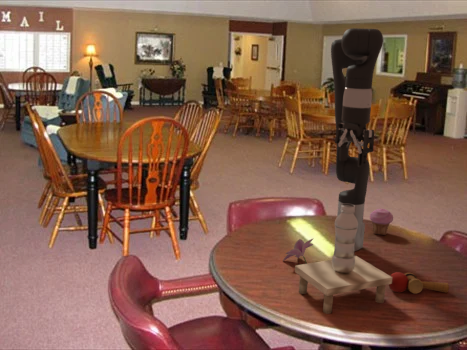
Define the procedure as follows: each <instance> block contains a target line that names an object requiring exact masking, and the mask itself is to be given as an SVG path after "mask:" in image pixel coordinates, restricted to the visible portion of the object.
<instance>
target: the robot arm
mask: <svg viewBox="0 0 467 350" xmlns="http://www.w3.org/2000/svg"><path fill="white" fill-rule="evenodd" d="M383 44H384V35H383V33H382V31H381V30H379V29H378V28H357V27H356V28H355V27H353V28H349V29H346V30H345V31H344V33H343V34H342V37H341V38H340V39H338V38H337V39H334V40H333V41H332V43H331V47H330V57H331V66H332V77H333V84H334V85H333V88H334V118H335V119H334V120H335V121H334V123H335V137H334V143H335V144H336V159H335V174H336V175H335V176H336V178H337V179H338V180H339V181H340V182H344V183H350V184H353V185H354V187H353V188H351V189H346V190H343V191H340V192H339V193H338V200H337V201H338V202H337V213H336V218H337V217H338V216H339V215H340V214H341V205H342V204H353V205H355V212H354V213H353V214H354V216H355V217H356V219H357V221H358V228H357V233H356V237H355V245H354V252H357V251H359V250H361V249H363V248H364V239H365V228H366V223H365V222H364V215H365V214H364V212H365V204H366V202H365V201H366V197H367V196H366V195H367V190H368V189H367V188H368V183H369V182H368V181H369V176H370V162H369V160H368V154H369V153H373V152H374V146H375V145H374V144H375V143H374V142H375V130H374V129H367V124H369V123H370V122H371V121H370V120H371V111H372V98H373V95H372V94H373V91H372V89H373V78H374V71H375V67H376V64H377V61H378V57H379V56H380V53H381V50H382V48H383ZM343 69H346V71H345V72H346V73H345V74H344V73H343ZM351 143H353V144H354V146H355V147H356V148H357V150H358V155H357V156H358V157H356V156H350V154H349V151H350V146H351ZM368 144H369V146H368ZM335 241H336V240H334V242H335Z"/></svg>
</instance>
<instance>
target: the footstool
mask: <svg viewBox="0 0 467 350" xmlns="http://www.w3.org/2000/svg"><path fill="white" fill-rule="evenodd" d="M354 257H355V267H354V270H353V271H352V272H350V273H340V272H337V271H335V270H334V269H333V267H332V259H327V260H322V261H317V262H316V261H315V262H309V263H307V264H306V263H303V264H296V265H295V266H294V272H295V274H297V275H298V276H299V281H298V284H299V285H298V293H299V294H301V295H306V294H308V283H309V284H310V285H312V287H314V288H315V289H317V290H318V291H319V292H320V293H322V294H323V307H322V312H323V314H327V315H329V314H332V312H333V302H334V295H339V294H345V293H350V292H355V291H361V290H367V289H372V288H376V291H375V299H374V301H375V302H376V303H378V304H384V302H385V296H386V295H385V294H386V285H388V286H389V284H392V277H391V276H390V275H389V274H387V273H386V272H384V271H383V270H381V269H379V268H377V267H375V265H373V264H371V263H370V262H367V261H366V260H364V259H362V258H361V257H359V256H357V255H354Z"/></svg>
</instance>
